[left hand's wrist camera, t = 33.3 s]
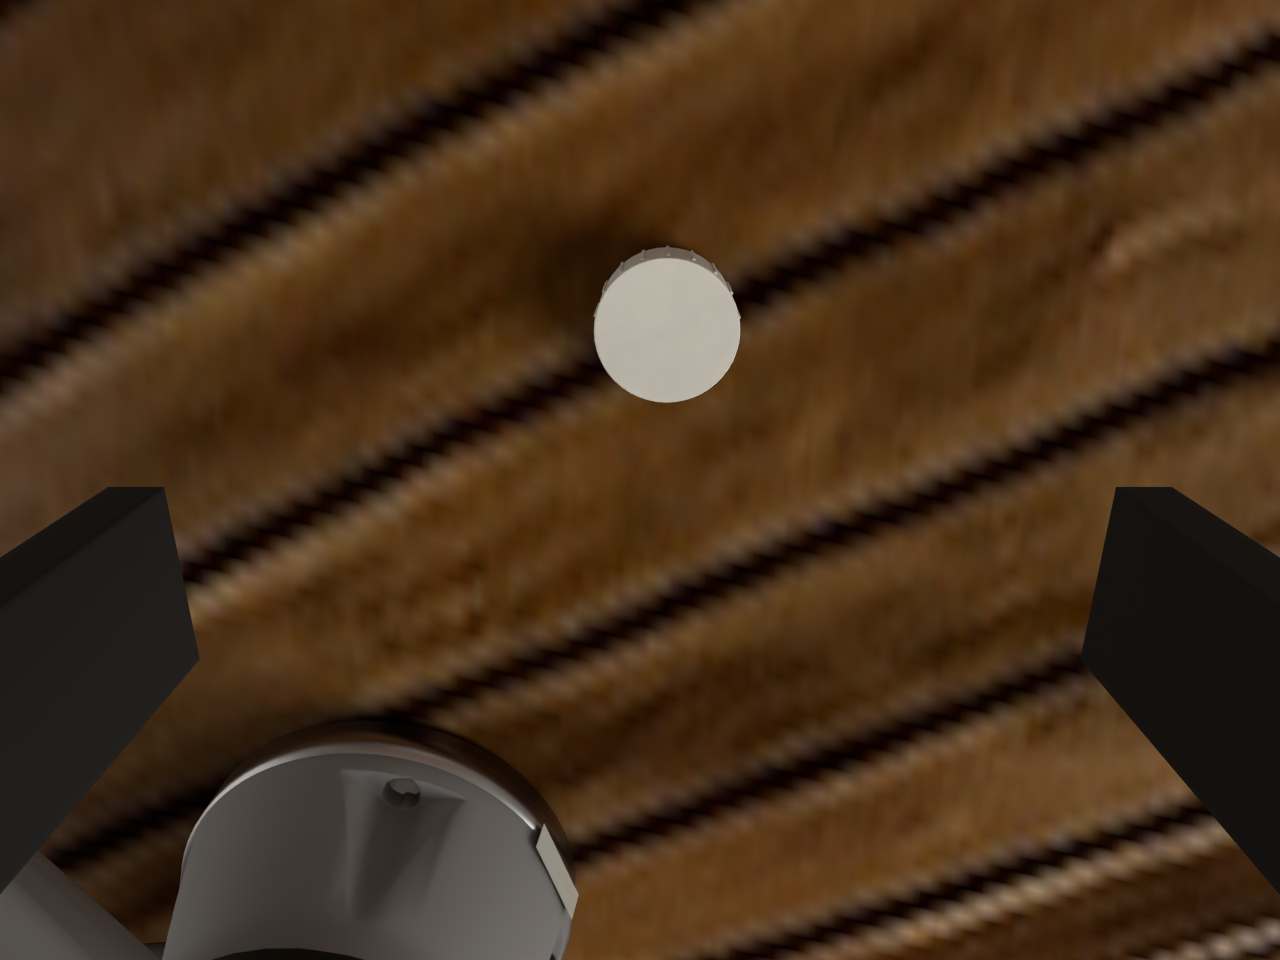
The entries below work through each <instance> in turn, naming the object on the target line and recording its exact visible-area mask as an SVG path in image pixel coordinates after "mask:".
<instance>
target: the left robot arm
mask: <svg viewBox="0 0 1280 960" xmlns="http://www.w3.org/2000/svg"><path fill="white" fill-rule="evenodd" d="M198 660H199V654H198V649H197V644H196V640H195V635H194V630H193V625H192V620H191V616H190V611H189V606H188V601H187V596H186V591H185V587H184V582H183V577H182V572H181V567H180V563H179V558H178V553H177V548H176V543H175V538H174V534H173V529H172V524H171V519H170V514H169V510H168V505H167V500H166V495H165V490H164V487H108V488H106V489H105V490H103V491H101V492H100V493H98V494H97V495H95V496H94V497H92V498H91V499H89V500H88V501H86V502H85V503H83V504H82V505H80V506H79V507H77V508H75V509H74V510H72V511H71V512H69V513H68V514H66V515H65V516H63V517H62V518H60V519H59V520H57V521H56V522H54V523H53V524H51V525H49V526H48V527H46V528H45V529H43V530H42V531H40V532H39V533H37V534H36V535H34V536H33V537H31V538H30V539H28V540H27V541H25V542H23V543H22V544H20V545H19V546H17V547H16V548H14V549H13V550H11V551H10V552H8V553H7V554H5V555H4V556H2V557H1V558H0V960H562V959H563V957H564V954H565V952H566V948H567V945H568V941H569V936H570V929H571V921H572V918H573V914H574V910H575V907H576V903H577V899H578V893H577V890H576V888H575V869H574V861H573V857H572V853H571V849H570V845H569V843H568V840H567V837H566V835H565V832H564V830H563V828H562V826H561V824H560V823H559V821H558V819H557V817H556V816H555V814H554V813H553V811H552V810H551V808H550V807H549V805H548V804H547V803H546V801H545V800H544V799H543V798H542V797H541V795H540V794H539V793H538V792H537V791H536V790H535V789H534V788H533V787H532V786H531V785H530V784H529V783H528V782H527V781H526V780H525V779H524V778H523V777H522V776H520V775H519V774H518V773H517V772H516V771H514V770H513V769H512V768H511V767H509V766H508V765H506V764H505V763H503V762H502V761H501V760H499V759H498V758H496V757H495V756H493V755H491V754H489V753H488V752H486V751H484V750H482V749H480V748H479V747H476V746H474V745H472V744H470V743H468V742H466V741H464V740H461V739H459V738H456V737H453V736H451V735H448V734H445V733H442V732H439V731H435V730H432V729H428V728H425V727H420V726H415V725H410V724H405V723H397V722H388V721H369V720H361V721H343V722H336V723H328V724H323V725H318V726H314V727H309V728H306V729H303V730H300V731H297V732H293V733H291V734H288V735H286V736H284V737H281V738H279V739H277V740H275V741H273V742H271V743H269V744H267V745H266V746H264V747H262V748H260V749H259V750H257V751H256V752H255V753H253V754H252V755H250V756H249V757H248V758H246V759H245V760H244V761H243V762H242V763H241V764H240V765H239V766H238V767H236V768H235V769H234V771H233V772H232V773H231V774H230V775H229V776H228V778H227V779H226V780H225V781H224V783H223V784H222V786H221V787H220V789H219V790H218V792H217V793H216V795H215V796H214V798H213V799H212V801H211V802H210V804H209V805H208V807H207V808H206V810H205V811H204V813H203V814H202V816H201V817H200V819H199V820H198V822H197V823H196V825H195V827H194V829H193V831H192V833H191V835H190V837H189V839H188V842H187V846H186V849H185V852H184V857H183V862H182V871H181V880H180V889H179V892H178V896H177V900H176V904H175V908H174V912H173V916H172V920H171V924H170V928H169V932H168V936H167V941H166V942H159V943H146V944H143V943H142V942H141V941H140V940H138V939H137V938H136V937H135V936H134V935H133V934H132V933H131V932H129V931H128V930H127V929H126V928H125V927H124V926H123V925H122V924H120V923H119V922H118V921H117V920H116V919H115V918H114V917H113V916H111V915H110V914H109V913H108V912H107V911H106V910H105V909H104V908H103V907H101V906H100V905H99V904H98V903H97V902H96V901H95V900H94V899H92V898H91V897H90V896H89V895H88V894H87V893H86V892H85V891H83V890H82V889H81V888H80V887H79V886H78V885H77V884H76V883H74V882H73V881H72V880H71V879H70V878H69V877H68V876H67V875H65V874H64V873H63V872H62V871H61V870H60V869H59V868H58V867H56V866H55V865H54V864H53V863H52V862H51V861H50V860H49V859H47V858H46V857H45V856H44V855H43V854H42V853H41V852H40V851H39V850H38V849H39V848H40V847H41V846H42V845H43V843H44V842H45V841H46V840H47V839H48V838H49V836H50V835H51V834H52V833H53V832H54V830H55V829H56V828H57V827H58V826H59V825H60V823H61V822H62V821H63V820H64V819H65V817H66V816H67V815H68V814H69V813H70V812H71V810H72V809H73V808H74V807H75V806H76V805H77V803H78V802H79V801H80V800H81V799H82V797H83V796H84V795H85V794H86V793H87V792H88V790H89V789H90V788H91V787H92V786H93V784H94V783H95V782H96V781H97V780H98V779H99V777H100V776H101V775H102V774H103V773H104V771H105V770H106V769H107V768H108V767H109V766H110V764H111V763H112V762H113V761H114V760H115V758H116V757H117V756H118V755H119V754H120V753H121V751H122V750H123V749H124V748H125V747H126V745H127V744H128V743H129V742H130V741H131V740H132V738H133V737H134V736H135V735H136V734H137V732H138V731H139V730H140V729H141V728H142V727H143V725H144V724H145V723H146V722H147V721H148V720H149V718H150V717H151V716H152V715H153V714H154V712H155V711H156V710H157V709H158V708H159V707H160V705H161V704H162V703H163V702H164V701H165V699H166V698H167V697H168V696H169V695H170V694H171V692H172V691H173V690H174V689H175V688H176V686H177V685H178V684H179V683H180V682H181V681H182V679H183V678H184V677H185V676H186V675H187V673H188V672H189V671H190V670H191V669H192V668H193V666H194V665H195V664H196V663H197V662H198ZM1081 660H1082V662H1083V663H1084V664H1085V665H1086V666H1087V668H1088V669H1089V670H1090V671H1091V672H1092V673H1093V675H1094V676H1095V677H1096V678H1097V679H1098V681H1099V682H1100V683H1101V684H1102V685H1103V686H1104V688H1105V689H1106V690H1107V691H1108V692H1109V694H1110V695H1111V696H1112V697H1113V698H1114V699H1115V701H1116V702H1117V703H1118V704H1119V705H1120V707H1121V708H1122V709H1123V710H1124V711H1125V712H1126V714H1127V715H1128V716H1129V717H1130V718H1131V720H1132V721H1133V722H1134V723H1135V724H1136V725H1137V727H1138V728H1139V729H1140V730H1141V731H1142V733H1143V734H1144V735H1145V736H1146V737H1147V738H1148V740H1149V741H1150V742H1151V743H1152V744H1153V745H1154V747H1155V748H1156V749H1157V750H1158V751H1159V753H1160V754H1161V755H1162V756H1163V757H1164V758H1165V760H1166V761H1167V762H1168V763H1169V764H1170V766H1171V767H1172V768H1173V769H1174V770H1175V771H1176V773H1177V774H1178V775H1179V776H1180V777H1181V779H1182V780H1183V781H1184V782H1185V783H1186V784H1187V786H1188V787H1189V788H1190V789H1191V790H1192V792H1193V793H1194V794H1195V795H1196V796H1197V797H1198V799H1199V800H1200V801H1201V802H1202V803H1203V805H1204V806H1205V807H1206V808H1207V809H1208V810H1209V812H1210V813H1211V814H1212V815H1213V816H1214V817H1215V819H1216V820H1217V821H1218V822H1219V823H1220V825H1221V826H1222V827H1223V828H1224V829H1225V830H1226V832H1227V833H1228V834H1229V835H1230V836H1231V838H1232V839H1233V840H1234V841H1235V842H1236V843H1237V845H1238V846H1239V847H1240V848H1241V849H1242V851H1243V852H1244V853H1245V854H1246V855H1247V856H1248V858H1249V859H1250V860H1251V861H1252V862H1253V864H1254V865H1255V866H1256V867H1257V868H1258V869H1259V871H1260V872H1261V873H1262V874H1263V875H1264V877H1265V878H1266V879H1267V880H1268V881H1269V882H1270V884H1271V885H1272V886H1273V887H1274V888H1275V890H1276V891H1277V892H1278V893H1279V894H1280V558H1279V557H1278V556H1276V555H1275V554H1273V553H1272V552H1270V551H1269V550H1267V549H1266V548H1264V547H1263V546H1261V545H1260V544H1258V543H1257V542H1255V541H1253V540H1252V539H1250V538H1249V537H1247V536H1246V535H1244V534H1243V533H1241V532H1240V531H1238V530H1237V529H1235V528H1234V527H1232V526H1231V525H1229V524H1227V523H1226V522H1224V521H1223V520H1221V519H1220V518H1218V517H1217V516H1215V515H1214V514H1212V513H1211V512H1209V511H1208V510H1206V509H1205V508H1203V507H1201V506H1200V505H1198V504H1197V503H1195V502H1194V501H1192V500H1191V499H1189V498H1188V497H1186V496H1185V495H1183V494H1182V493H1180V492H1179V491H1177V490H1175V489H1174V488H1172V487H1116V490H1115V495H1114V500H1113V505H1112V510H1111V514H1110V519H1109V524H1108V529H1107V534H1106V538H1105V543H1104V548H1103V553H1102V558H1101V563H1100V567H1099V572H1098V577H1097V582H1096V587H1095V591H1094V596H1093V601H1092V606H1091V611H1090V616H1089V620H1088V625H1087V630H1086V635H1085V640H1084V644H1083V649H1082V654H1081Z"/></svg>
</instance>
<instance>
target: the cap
mask: <svg viewBox="0 0 1280 960" xmlns="http://www.w3.org/2000/svg"><path fill="white" fill-rule="evenodd" d="M602 293H603V294H602V296H601V299H600V302H599V303H598V304H597V307H596V310H595V313H594V317H595V321H594V342H595V345H596V350H597V353H598V356H599V358H600V360H601V362H602V364H603V366H604V368H605V369H606V371H607V372H608V374H609V375H610V376H611V377H612V378H613V380H614V381H615V382H616V383H617V384H619V385H620V386H621V387H622V388H624V389H625V390H627V391H628V392H630V393H632V394H634V395H636V396H638V397H640V398H643V399H646V400H650V401H655V402H678V401H683V400H687V399H690V398H693V397H695V396H697V395H700V394H702V393H703V392H705V391H707V390H708V389H710V388H711V387H712V386H713V385H715V384H716V383H717V382H718V381H719V380H720V379H721V378H722V377H723V376H724V374H725V373H726V372H727V370H728V369H729V367H730V365H731V363H732V362H733V360H734V357H735V355H736V352H737V348H738V344H739V338H740V321H739V319H740V314H739V312H738V310H737V307H736V304H735V302H734V299H733V297H732V294H733V292H732V290H731V287H730V285H729V283H728V282H725V280H724V278H723V277H722V275H721V274H720V273H719V272H718V270H717V269H716V268H715V265H714V264H713V263H710V262H708V261H707V260H705V259H704V258H703V257H701V256H699V255H697V254H695V253H694V251H692V250H691V251H687V250H684V249H679V248H671V247H669V246H666V247H663V248H655V249H650V250H647V251H645V250H642V252H641V253H639V254H637V255H635V256H633V257H631V258H630V259H628V260H627V261H625V262H621V264H620V267H618V269H617V270H616V271H615V272H614V273H613V274H612V276H611V277H610V279H609V280H608V281H607V280H606V282H605V284H604V287H603V290H602Z"/></svg>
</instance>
